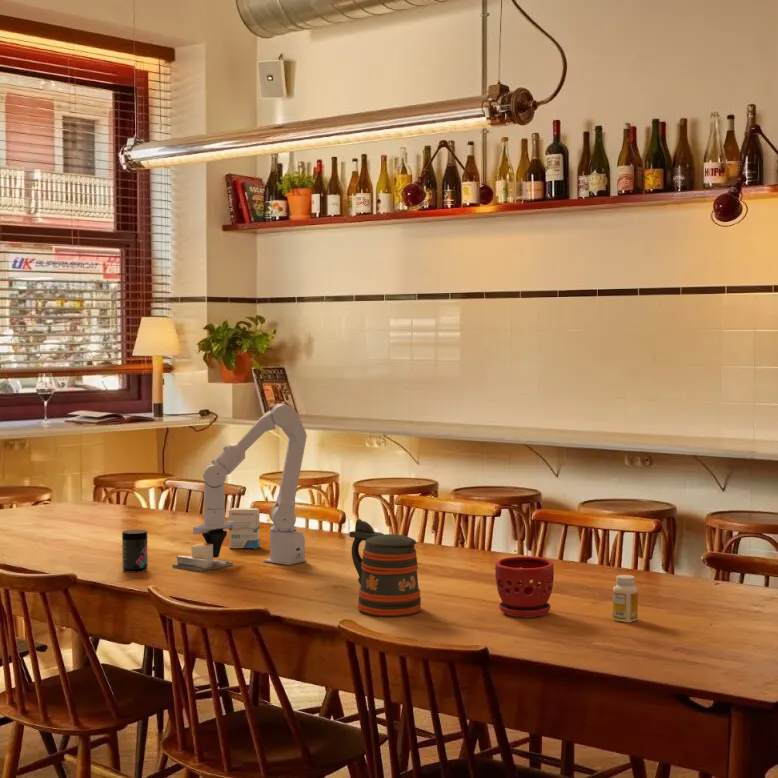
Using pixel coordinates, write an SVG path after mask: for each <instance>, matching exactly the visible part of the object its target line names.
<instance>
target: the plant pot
mask: <svg viewBox="0 0 778 778" xmlns="http://www.w3.org/2000/svg"><path fill="white" fill-rule="evenodd" d="M494 568H495V569H494V570H495V572H494V573H495V584H496V589H497V593H498V595H499V598H500V600H501V602H500V603H499V604H498V607H499V609H500V611H501V613H503V614H505V615H507V616H510V617H514V616H516V618H522V617H531V618H537V617H536V616H538V617H539V616H541V617H543V616H544V615H546V614H548V613H549V611H550V609H551V604H550V603H548V601H549V600H550V597H551V595H552V592H553V586H554V576H555V575H554V572H555V571H554V563H553V561H551V560H549V559H547V558H545V557H544V558H543V557H536V556H511V557H510V556H509V557H504V558H500V559H499V560H497V561H496V562H495V566H494ZM530 581H532V582H530Z"/></svg>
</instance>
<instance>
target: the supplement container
mask: <svg viewBox="0 0 778 778" xmlns="http://www.w3.org/2000/svg"><path fill="white" fill-rule="evenodd" d="M121 543H122V545H121V546H122V548H121V549H122V550H121V551H122V557H121V558H122V559H121V561H122V563H121V564H122V570H123V571H124V570H125V571H124V572H126V571H140V572H144V571H143V570H145V571H146V570H147V569H148V567H149V566H148V565H149V564H148V558H149V557H148V556H149V555H148V530H146V529H127V530H123V531H122V532H121Z"/></svg>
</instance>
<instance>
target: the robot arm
mask: <svg viewBox="0 0 778 778" xmlns="http://www.w3.org/2000/svg"><path fill="white" fill-rule="evenodd" d="M275 425H276V426H277V427H278V428H280V429H281V430H282V431H283V433H285V435H286V437H287V438H288V442H287V449H286V453H285V459H284V463H283V464H284V465H283V470H282V474H281V475H282V476H281V478H280V479H281V481H280V483H279V484H280V486H279V489H278V495H277V497H276V500H275V504H274V505H273V507H272V509H271V510H270V516H269V517H270V520H271V521H272V522H273V525H272V526H271V527H270V528H269V533H270V534H269V544H270V545H269V547H270V548H269V549H270V550H269V554H270V556H269V558H266V559H263V562H266V563H273V564H278V565H279V564H280V565H286V566H287V565H288V566H289V565H294V564H299V563H303V562H307V561H308V559H306V539H305V535H304V534H303V532H300V531H298V530H297V527H296V526H295V524H296V522H297V521H296V520H297V516H296V514H295V513H296V512H295V508H296V497H297V496H296V495H297V489H298V485H299V479H300V474H301V469H302V464H303V458H304V454H305V449H306V448H305V447H306V443H307V437H308V435H307V432H306V429H305V427H304V425H303V423H302V420H301V417H300V415H299V414H298V413H297V411H296V410H295V409H294V408H293V407H292V406H290V405H289V404H286V403H285V402H284V403H282V402H280V403H277V404H274V405H273V407H272V408H271V409H270V410H268V411H266V412H265V413H264V414H263V415H262V416H261V417H260V418H259V419H258V420H257V421H256V422H255V423H254V424H253V425H252V427H251V428H250V429H249V430H248V431H247V432H246V433H245V434H244V435H243V436H242V438H241V439H239V441H238V442H237V443H230V444H229V445H225V446H224V447H223V448H222V450H223V451H222V452H221V453H220V454H219V455H218V456H217V457H216V458H215V459H214V458H213V459H212V460H211V462H210V463H211V464H210V465H208V466H206V468H204V471H203V474H202V477H203V481H204V485H203V487H204V488H203V489H204V491H203V522H202V523H201V524H199V525H197V526H193V527H192V534H193V535H201V534H202V537H203V538H204V540H205V543H207V544H213V559H214V558H215V559H216V558H219V556H220V552H221V549H222V546H223V542H224V541H225V538H226V536H227V535H228V534H227V533H228V532H227V529H228V530H229V528H235V521H229V520H227V521H226V514H225V513H226V510H225V509H226V505H225V504H226V499H225V498H226V495H225V494H226V493H225V489H224V488H225V485H224V484H225V482H226V479H227V476H228V475H231V473H233V471H234V470H236V468H238V466H240V465H241V463H242V462H243V461H244V460H245V459H246V452H247V450H248V449H249V448H250V447H251V446H252V445H253V444H255V442H257V440H259V439H260V438H261V437H262V436H263V435H264V434H265V433H266V432H270V431H273V430H277V428H276V426H275Z"/></svg>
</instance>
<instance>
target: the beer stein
mask: <svg viewBox="0 0 778 778" xmlns="http://www.w3.org/2000/svg"><path fill="white" fill-rule="evenodd" d="M348 534H349V535H348V536H349V538H354V539H353V542H352V545H351V558H352V562H353V565H354V569H355V570H356V572H357V575H358V579H357V581H358V583H359V585H360V588H359V589H358V602H357V609H358V611H359V612H361V613H363V614H366V615H369V616H373V617H384V618H385V617H386V618H394V617H395V618H396V617H397V618H398V617H408V616H413V615H416V614H418V613H419V612H420V611H421V610H422V607H421V606H422V604H421V602H422V601H421V600H422V597H421V589H420V587H419V579H418V569H419V567H418V565H419V564H418V556H417V550H416V549H415V545H416V544H417V541H416V540H415V539H414V538H411V537H410V536H408V535H403V534H396V533H395V534H393V533H392V534H391V533H389V534H387V533H386V534H384V533H383V532H378V531H374V529H373V527H372V526H371V524H369V523H368V522H367V521H366V520H362V519H360V518H359V519H356V521H355V528H354V530H353V531H350V532H349V533H348ZM362 541H365V544H364V548H363V550H362V556H361V555H360V552H359V549H360V545H361V542H362Z"/></svg>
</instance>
